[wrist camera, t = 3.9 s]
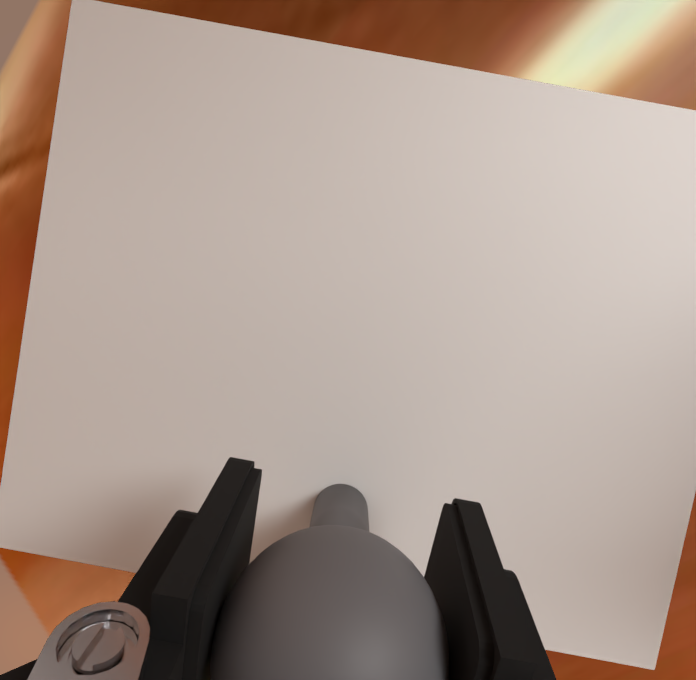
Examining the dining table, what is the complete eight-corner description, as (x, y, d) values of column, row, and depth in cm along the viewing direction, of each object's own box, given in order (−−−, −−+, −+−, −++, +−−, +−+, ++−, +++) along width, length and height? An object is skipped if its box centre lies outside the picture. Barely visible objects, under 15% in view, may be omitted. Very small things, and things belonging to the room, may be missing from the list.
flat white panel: (84, 9, 14) (-320, -446, 6) (761, 133, 14) (1376, -139, 6) (5, 536, 15) (-445, 825, 7) (642, 655, 15) (1018, 1102, 6)
